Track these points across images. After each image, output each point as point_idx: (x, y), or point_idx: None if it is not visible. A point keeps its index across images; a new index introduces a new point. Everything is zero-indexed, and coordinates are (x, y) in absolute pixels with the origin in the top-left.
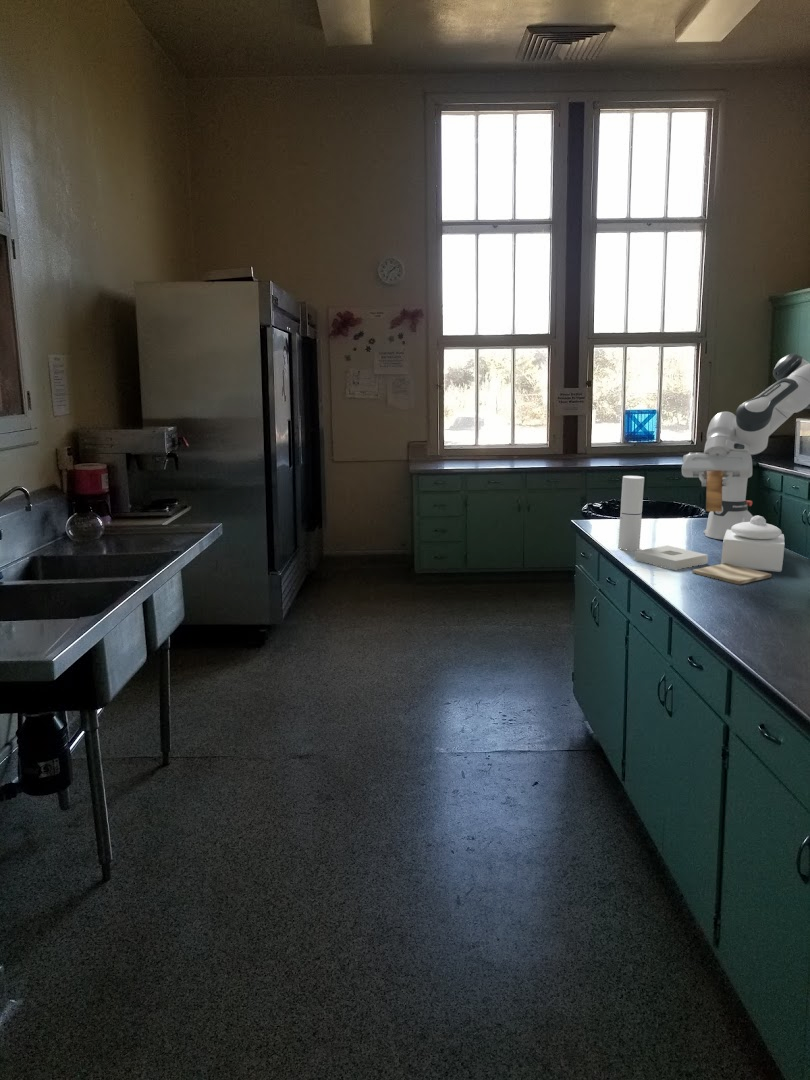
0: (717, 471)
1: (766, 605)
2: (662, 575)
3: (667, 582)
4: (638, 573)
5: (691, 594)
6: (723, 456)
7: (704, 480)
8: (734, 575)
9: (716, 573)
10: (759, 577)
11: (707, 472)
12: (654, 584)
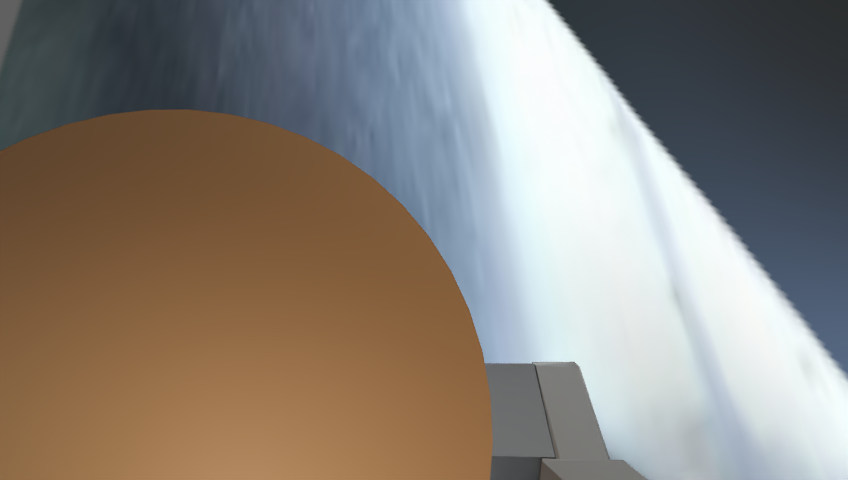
0: (47, 138)
1: (136, 31)
2: (630, 318)
3: (568, 188)
4: (763, 301)
5: (429, 48)
6: None
7: (517, 407)
8: None
9: None
10: None
11: (447, 290)
12: (615, 127)
